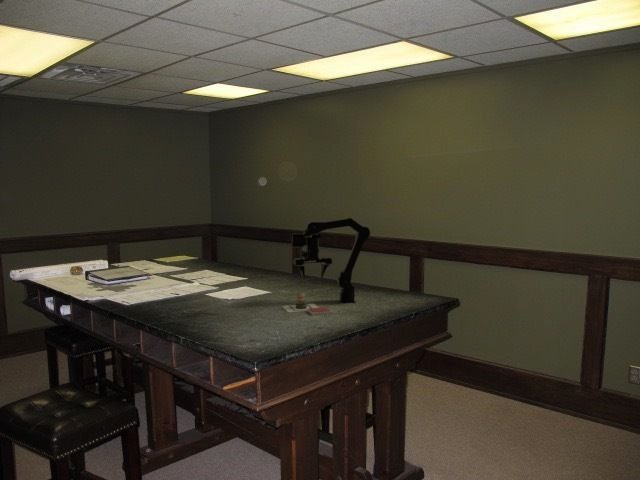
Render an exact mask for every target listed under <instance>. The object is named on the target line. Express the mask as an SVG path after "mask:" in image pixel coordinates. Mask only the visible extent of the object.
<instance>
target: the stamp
mask: <svg viewBox="0 0 640 480" xmlns="http://www.w3.org/2000/svg"><path fill="white" fill-rule="evenodd" d="M296 299H297V303H296V304H295V305H296V308H297V309H306V308H307V304H308V303H307V304H306V294H305V293H304V292H302V291H300V292H298V293H297V297H296Z"/></svg>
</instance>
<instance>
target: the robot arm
mask: <svg viewBox="0 0 640 480" xmlns="http://www.w3.org/2000/svg"><path fill="white" fill-rule="evenodd" d="M344 227H345V228H346V227H350V228H351V229H353V230H354V231H355V232H356V233H355V241H354V244H353V245H352V249H351V251H350V252H349V253H350V254H349V256H348V259H347V261H346V263H345V266H344V268H343V269H342V270H341V269H339V270H338V271H339V272H338V275H337V276H336V278H337V281H336V282H337V283H338V286H339V287H340V292H339V302H341V303H342V304H354V303H355V304H356V301H355V286H354V285H353V283H352V276H353V271H354V267H355V265H356V263H357V261H358V258H359V255H360V253H361V250H362V247H363V246H364V244H365V243H366V242H367V240H368V238H369V237H370V236H371V230H370V229H369V227H367V226H365V225H361V224H360V223H358V221H356V220H354V219H353V218H352V217H346V218H340V219H334V220H329V221H316V220H315V221H313V220H312V221H309V222H307V224H306V228H305V230H304V231H303V233H296V232H294V233H292V235H291V236H292V237H291V248H304V247H305V246H306V251H305V250H300V255H299V256H300V257H298V258H296V257H295V258H294V259H292V264H293V265H294V266H296V267H297V268H299V271H300V273H301V276H302V280H305V278H306V273H305V265H304V264H318V263H320V266H321V267H320V278H321V279H323V277H324V275H325V273H326V270H327V268H328V267H330V266H331V265H332V264H333V259H332V258H331V257H330V256H322V257H319V256H320V255H319V252H320V248H319V247H320V246H319V245H320V244H319V243H320V242H319V239H322V238H323V236H322V234H320V232H324V231H327V230H330V229H331V230H332V229H338V228H344ZM341 288H342V289H341Z"/></svg>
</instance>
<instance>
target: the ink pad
mask: <svg viewBox="0 0 640 480" xmlns="http://www.w3.org/2000/svg"><path fill="white" fill-rule="evenodd" d="M306 312H307V313H308V314H309V315H310V316H321V315H322V316H323V315H325V316H326V315H333V314H334V311H333V310H332V309H330V307H327V306H324V307H323V306H322V307H319V308H309V309H307V311H306Z"/></svg>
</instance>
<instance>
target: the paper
mask: <svg viewBox="0 0 640 480" xmlns="http://www.w3.org/2000/svg"><path fill="white" fill-rule="evenodd" d="M281 308H282V309H284V311H285V312H286V313H288V314H289V313H300V312H307V309H309V308H320V307H318V306H317V304H315V303H307V308H306V309H297V308H296V304H293V305H291V304H290V305H282V306H281Z"/></svg>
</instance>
